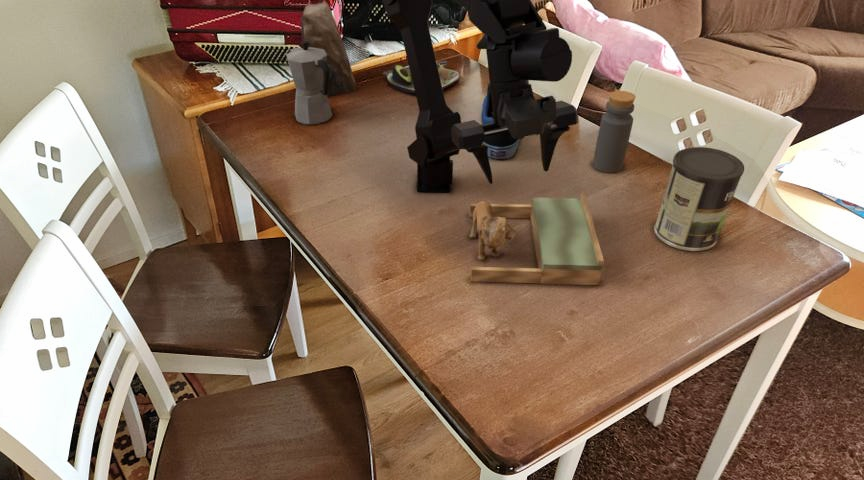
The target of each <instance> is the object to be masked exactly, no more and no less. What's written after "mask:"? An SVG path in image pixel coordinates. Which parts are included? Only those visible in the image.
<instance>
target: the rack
mask: <svg viewBox="0 0 864 480" xmlns="http://www.w3.org/2000/svg"><path fill="white" fill-rule="evenodd" d="M477 204H478V203H471V202H470V203H469V218H473V213H474V209H475V207H476V205H477ZM490 204H491V206H492V217H501V218H503V217H505V218H506V219H530V225H531V230H532V236H533V237H532V238H533V244H534V249H535V250H534V251H535V256H536V263H537V268H536V267H535V268H533V267H532V268H531V267H500V266H499V267H495V266H471V269H470V282H479V283H480V282H485V283H514V284H515V283H516V284H517V283H518V284H541V285H543V284H545V285H546V284H547V285H574V286H575V285H580V286H599V284H600V278H601V275H602V270H603V268H604V262H605V260H604V256H603V253H602V249H601V245H600V242H599V238H598V235H597V232H596V231H597V230H596V228H595V224H594V221H593V217H592V214H591V210H590V205H589V203H588V200H587V196H586V194H585V193H580V194H579V198H577V197H576V198H575V197H574V198H572V197H532V199H531V204H529V203H528V204H520V203H519V204H518V203H490Z"/></svg>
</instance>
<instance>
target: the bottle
mask: <svg viewBox="0 0 864 480" xmlns="http://www.w3.org/2000/svg"><path fill="white" fill-rule="evenodd" d="M635 100H636V95H635V94H634V93H632V92H630V91H626V90H614V91H610V93H609V95H608V101H607V102H606V103H605V110H606V112H604V113H602V115H601V119H600V123H599V128H598V134H597V138H596V143H595V149H594V153H593V154H594V155H593V159H592V166H593V167H594V169H596V170H597V171H599V172H603V173H608V174H610V173H618V172H620V171H621V170H622V169H623V166H624V163H625V158H626V154H627V150H628V145H629V142H630V137H631V133H632V128H633V124H634V117H633V115H631V114H632V113H634V111H635V104H634V102H635Z"/></svg>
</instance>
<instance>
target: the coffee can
mask: <svg viewBox="0 0 864 480" xmlns="http://www.w3.org/2000/svg"><path fill="white" fill-rule="evenodd" d="M744 172H745V164H744V163H743V161H741V159H740V158H738V157H737V156H735V155H733V154H732V153H729V152H727V151H724V150H721V149H717V148H712V147H705V146H693V147H692V146H691V147H686V148H683V149H681V150H680V149H679V151H677V152H676V153H675V154H674V156H673V159H672V166H671V170H670V173H669V176H668V179H667V183H666V187H665V190H664V194H663V197H662V201H661V205H660V208H659V211H658V215H657V219H656V222H655V224H654V226H653V230H654V234H655V236H656V237H657V239H659V240H660V241H662V242H663V243H664V244H666V245H668V246H670V247H672V248H675V249H678V250H681V251H687V252H702V251H707V250H710V249H712V248H713V247H715V246H716V245H717V243H718V241H719V236H720V234H721V230H722V228H723V226H724V222H725V220H726V217H727V215H728V213H729V209H730V208H731V207H730V206H731V204H732V201H733V200H734V196H735V193H736V191H737V188H738V186H739V183H740V180H741V177H743V174H744Z"/></svg>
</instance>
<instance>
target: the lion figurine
mask: <svg viewBox="0 0 864 480" xmlns="http://www.w3.org/2000/svg"><path fill="white" fill-rule="evenodd" d="M476 204H477V205H476V207H475V209H474V213H473V217H470V220H471V221H472V227H471V231H470V233H469V238H470V239H476V238H477V231H478V255H477V259H478V260H480V261H484V260H485V259H486V251H485V248H487V249H489V250H490V254H491V256H493V257H498V256H500V251H498V248H501V247H502V246H504V245H505V244H506V240H507V241H509V242H511V241H513V238H515V236H516V235H517V234H518V231H517V230H515V229H514V228H512V226H511V225H510V223H508V220H507V218H505V217H503V218H501V217H492V206H491V204H492V203H490V202H488V201H486V200H481V201H479V202H478V203H476Z"/></svg>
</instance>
